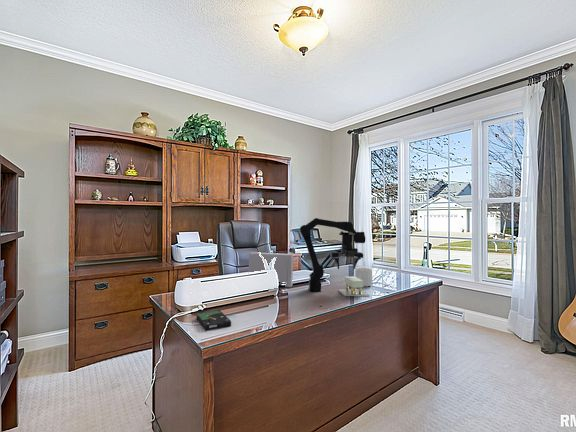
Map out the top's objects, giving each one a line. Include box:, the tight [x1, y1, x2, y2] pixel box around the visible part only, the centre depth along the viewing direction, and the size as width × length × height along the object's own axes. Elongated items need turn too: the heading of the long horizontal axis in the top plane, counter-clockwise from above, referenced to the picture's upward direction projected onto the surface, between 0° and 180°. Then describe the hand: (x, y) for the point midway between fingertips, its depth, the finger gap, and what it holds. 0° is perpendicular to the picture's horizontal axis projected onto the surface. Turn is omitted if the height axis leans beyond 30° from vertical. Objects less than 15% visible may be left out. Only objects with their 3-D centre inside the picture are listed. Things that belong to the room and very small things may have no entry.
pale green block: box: [344, 275, 364, 288], centre depth 169 cm, size 6×12×4 cm, turn 10°
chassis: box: [338, 283, 370, 297], centre depth 169 cm, size 14×12×5 cm
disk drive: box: [195, 310, 232, 332], centre depth 120 cm, size 10×3×15 cm
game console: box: [248, 251, 294, 288], centre depth 186 cm, size 6×27×20 cm, turn 78°
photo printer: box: [355, 266, 373, 287], centre depth 188 cm, size 10×4×12 cm, turn 86°
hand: (346, 269), depth 175 cm, fingers open, 9 cm apart
